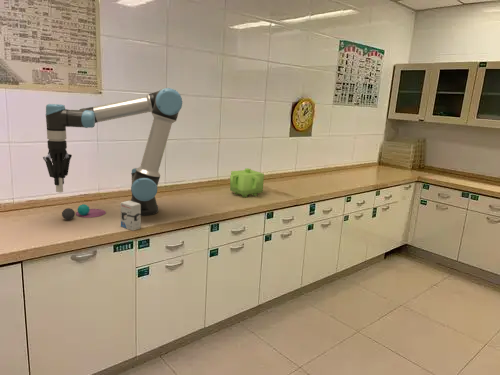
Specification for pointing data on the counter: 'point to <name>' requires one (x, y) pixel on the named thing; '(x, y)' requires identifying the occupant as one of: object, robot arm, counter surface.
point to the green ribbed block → (246, 182)
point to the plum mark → (93, 213)
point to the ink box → (131, 215)
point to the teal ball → (83, 209)
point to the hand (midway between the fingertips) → (59, 191)
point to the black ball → (68, 213)
